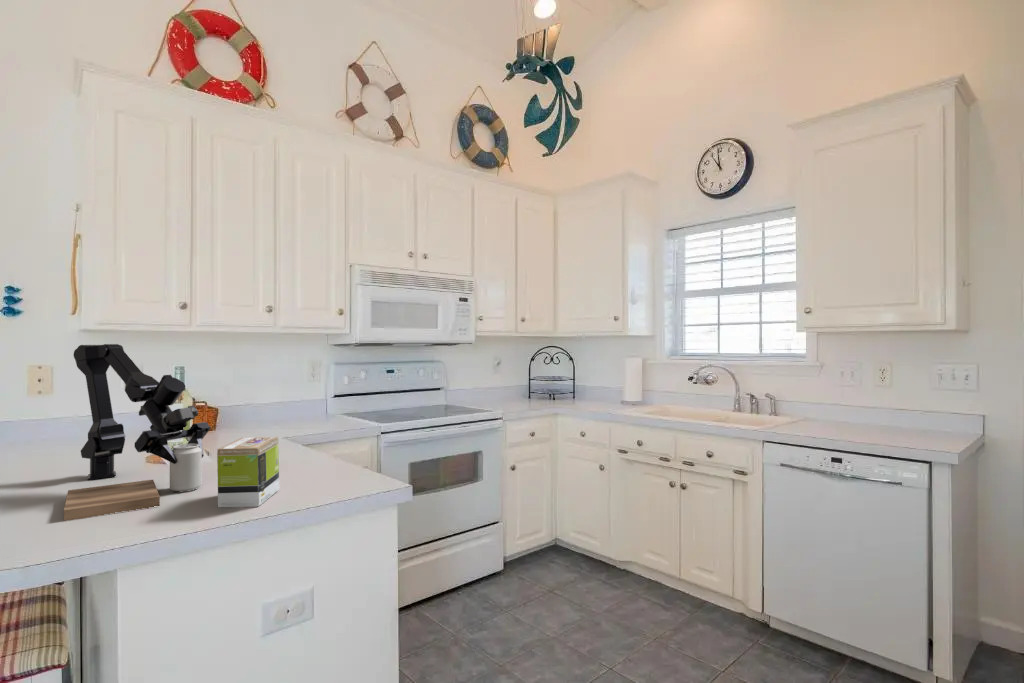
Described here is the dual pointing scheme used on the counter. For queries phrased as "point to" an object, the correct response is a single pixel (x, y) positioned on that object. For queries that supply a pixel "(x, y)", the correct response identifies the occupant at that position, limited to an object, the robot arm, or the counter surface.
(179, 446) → the can
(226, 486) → the tea box
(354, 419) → the counter surface
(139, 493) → the brown wooden slab
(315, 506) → the counter surface
